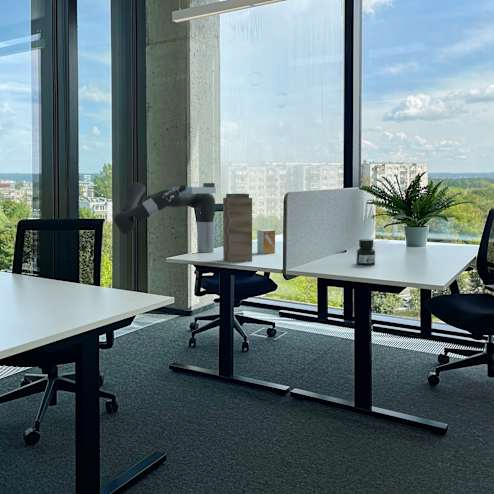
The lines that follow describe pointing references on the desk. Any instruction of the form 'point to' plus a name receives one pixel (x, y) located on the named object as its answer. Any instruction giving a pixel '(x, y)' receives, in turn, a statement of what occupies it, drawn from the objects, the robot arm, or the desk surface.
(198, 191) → the pale blue long bar
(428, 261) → the desk surface
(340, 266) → the desk surface
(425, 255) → the desk surface
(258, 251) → the small box
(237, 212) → the stand
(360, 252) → the ink bottle
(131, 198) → the robot arm
